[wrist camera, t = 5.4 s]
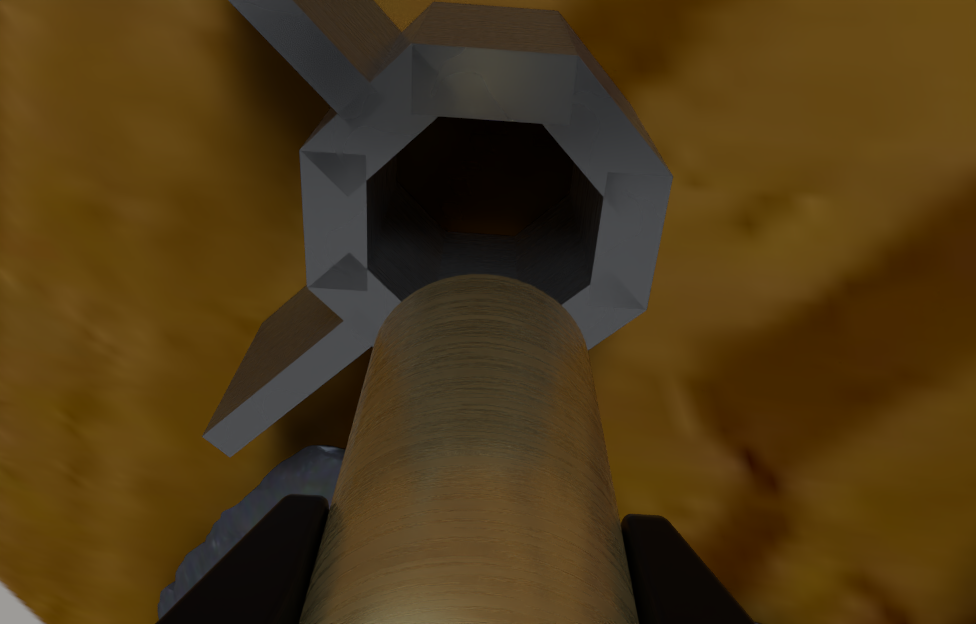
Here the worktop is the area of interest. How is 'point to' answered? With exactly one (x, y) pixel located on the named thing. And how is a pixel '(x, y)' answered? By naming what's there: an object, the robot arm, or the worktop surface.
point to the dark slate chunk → (257, 513)
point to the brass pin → (474, 472)
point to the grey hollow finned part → (402, 221)
